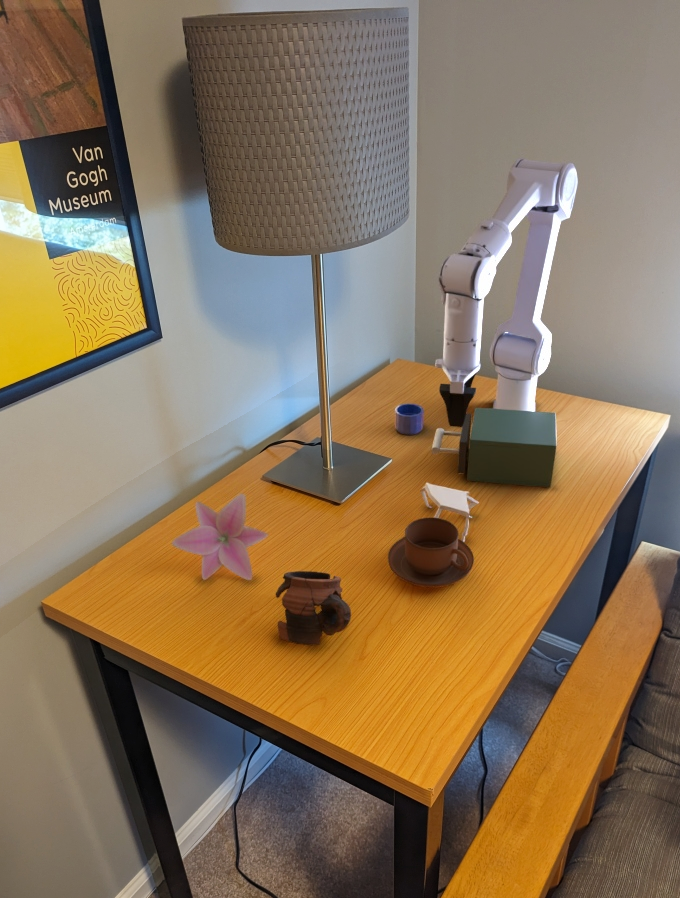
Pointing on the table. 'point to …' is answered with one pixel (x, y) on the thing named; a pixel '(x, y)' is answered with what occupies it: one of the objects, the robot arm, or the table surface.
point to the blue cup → (409, 419)
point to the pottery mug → (311, 607)
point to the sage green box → (512, 447)
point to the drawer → (463, 443)
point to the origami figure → (450, 502)
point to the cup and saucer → (431, 554)
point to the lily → (222, 538)
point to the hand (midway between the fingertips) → (458, 415)
